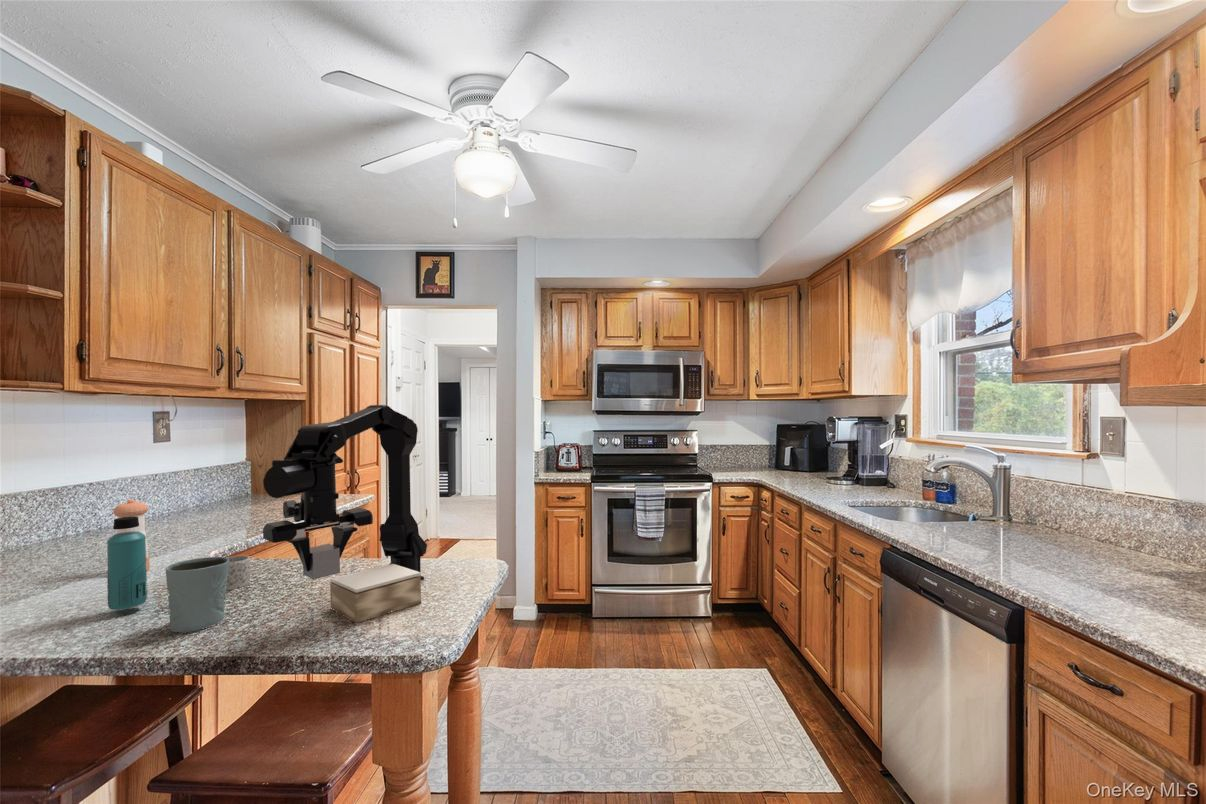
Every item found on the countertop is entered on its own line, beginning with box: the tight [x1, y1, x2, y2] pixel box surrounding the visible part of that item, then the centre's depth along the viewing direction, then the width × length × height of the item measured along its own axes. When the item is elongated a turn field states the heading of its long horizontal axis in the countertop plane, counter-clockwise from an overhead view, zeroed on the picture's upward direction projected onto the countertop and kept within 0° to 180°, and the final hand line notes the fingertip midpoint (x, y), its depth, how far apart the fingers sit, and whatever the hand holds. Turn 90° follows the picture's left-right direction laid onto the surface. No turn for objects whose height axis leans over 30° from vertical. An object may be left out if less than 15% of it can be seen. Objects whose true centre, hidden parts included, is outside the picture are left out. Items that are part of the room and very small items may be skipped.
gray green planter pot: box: [165, 556, 229, 634], centre depth 108 cm, size 10×10×12 cm
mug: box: [226, 555, 251, 592], centre depth 129 cm, size 10×7×7 cm, turn 168°
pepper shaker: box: [113, 498, 150, 572], centre depth 144 cm, size 7×7×19 cm
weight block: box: [302, 543, 341, 581], centre depth 107 cm, size 5×5×5 cm
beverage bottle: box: [106, 516, 149, 611], centre depth 115 cm, size 6×7×20 cm
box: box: [329, 576, 422, 624], centre depth 116 cm, size 14×12×6 cm
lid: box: [329, 563, 422, 593], centre depth 116 cm, size 14×12×1 cm
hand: (321, 567), depth 107 cm, fingers closed on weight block, 5 cm apart
